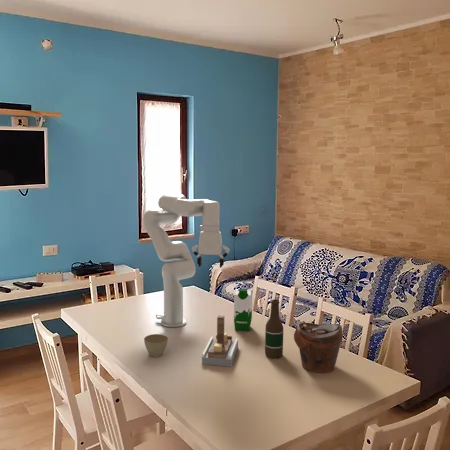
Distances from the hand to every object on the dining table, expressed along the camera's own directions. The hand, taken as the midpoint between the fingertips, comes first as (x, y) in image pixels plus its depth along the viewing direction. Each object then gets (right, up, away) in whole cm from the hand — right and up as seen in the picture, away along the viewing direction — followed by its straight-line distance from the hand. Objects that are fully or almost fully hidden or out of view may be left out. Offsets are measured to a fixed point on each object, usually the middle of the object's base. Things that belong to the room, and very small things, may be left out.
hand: (210, 266), depth 217 cm
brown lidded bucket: (+44, -39, -22) cm, 62 cm away
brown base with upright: (+5, -34, -13) cm, 36 cm away
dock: (+5, -37, -13) cm, 39 cm away
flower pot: (-23, -36, -13) cm, 45 cm away
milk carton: (+15, -32, +20) cm, 41 cm away
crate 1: (+4, -33, -20) cm, 39 cm away
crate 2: (+6, -31, -7) cm, 33 cm away
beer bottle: (+27, -37, -12) cm, 47 cm away
